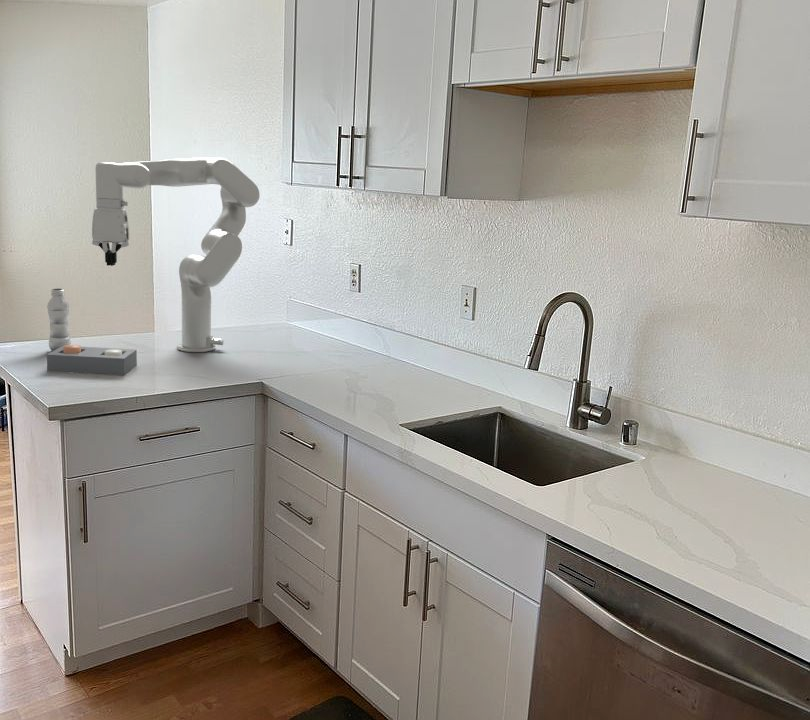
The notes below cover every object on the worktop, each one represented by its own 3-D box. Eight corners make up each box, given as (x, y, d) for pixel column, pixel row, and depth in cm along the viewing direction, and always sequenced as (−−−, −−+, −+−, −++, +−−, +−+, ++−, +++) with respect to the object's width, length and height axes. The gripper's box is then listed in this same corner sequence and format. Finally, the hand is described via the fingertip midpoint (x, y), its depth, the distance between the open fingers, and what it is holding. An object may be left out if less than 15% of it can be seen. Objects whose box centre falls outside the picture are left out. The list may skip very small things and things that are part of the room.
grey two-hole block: (136, 365, 241) (136, 349, 240) (124, 375, 229) (124, 358, 228) (63, 361, 240) (62, 345, 239) (47, 371, 228) (46, 354, 227)
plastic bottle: (75, 350, 255) (73, 288, 251) (64, 354, 249) (61, 291, 244) (56, 348, 256) (53, 287, 251) (44, 352, 249) (42, 290, 245)
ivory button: (124, 366, 237) (124, 349, 236) (119, 370, 233) (118, 353, 231) (108, 365, 237) (107, 349, 236) (102, 369, 232) (102, 352, 231)
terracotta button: (83, 361, 237) (83, 345, 235) (77, 365, 232) (77, 348, 231) (67, 360, 236) (66, 344, 235) (61, 364, 232) (60, 347, 231)
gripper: (138, 205, 243) (139, 265, 247) (88, 202, 242) (90, 262, 246) (130, 206, 235) (132, 268, 239) (79, 203, 235) (81, 265, 239)
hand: (111, 265), depth 243 cm, fingers closed
